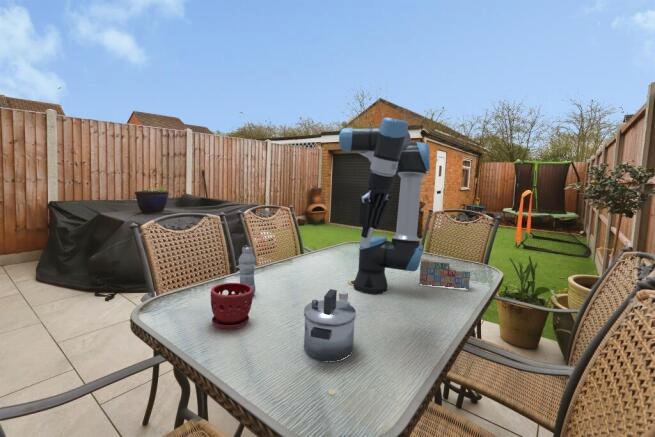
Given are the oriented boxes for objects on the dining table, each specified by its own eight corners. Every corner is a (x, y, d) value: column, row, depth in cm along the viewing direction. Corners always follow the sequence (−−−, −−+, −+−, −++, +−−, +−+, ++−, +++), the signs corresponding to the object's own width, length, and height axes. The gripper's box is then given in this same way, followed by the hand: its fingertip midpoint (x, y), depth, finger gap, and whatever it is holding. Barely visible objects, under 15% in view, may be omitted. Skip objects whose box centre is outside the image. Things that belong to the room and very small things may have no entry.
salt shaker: (341, 315, 115) (342, 289, 114) (350, 318, 113) (351, 292, 111) (334, 318, 112) (335, 292, 111) (343, 322, 110) (344, 295, 108)
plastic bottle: (251, 299, 126) (251, 249, 124) (235, 297, 127) (235, 247, 125) (258, 293, 132) (258, 245, 130) (242, 291, 134) (243, 244, 131)
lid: (359, 308, 96) (360, 288, 96) (349, 329, 82) (351, 306, 82) (313, 301, 100) (314, 281, 99) (296, 320, 86) (296, 298, 85)
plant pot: (230, 337, 97) (230, 298, 95) (202, 325, 104) (201, 289, 102) (260, 321, 108) (261, 287, 106) (233, 311, 115) (233, 278, 113)
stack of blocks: (466, 287, 151) (468, 261, 150) (468, 292, 145) (471, 265, 144) (419, 281, 157) (421, 257, 155) (419, 286, 151) (421, 260, 149)
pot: (358, 337, 100) (360, 306, 98) (345, 371, 82) (346, 334, 80) (315, 329, 103) (316, 299, 102) (293, 361, 85) (294, 325, 84)
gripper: (378, 176, 87) (359, 254, 95) (405, 176, 96) (385, 247, 104) (358, 169, 92) (341, 244, 99) (385, 170, 101) (368, 238, 109)
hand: (364, 246), depth 102 cm, fingers closed
